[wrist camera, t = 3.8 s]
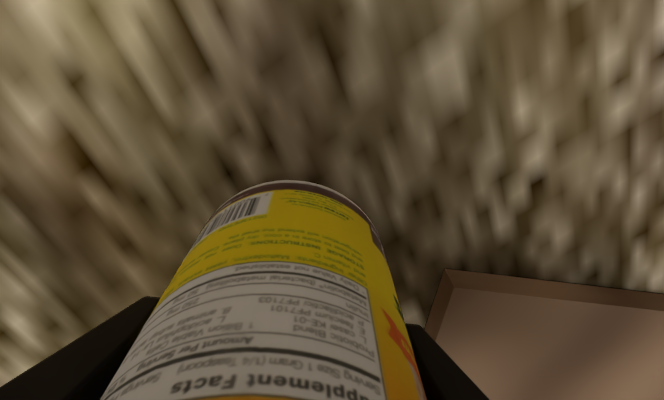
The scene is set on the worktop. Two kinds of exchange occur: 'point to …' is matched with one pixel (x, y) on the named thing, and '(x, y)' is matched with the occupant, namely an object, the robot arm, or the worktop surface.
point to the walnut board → (550, 337)
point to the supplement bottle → (277, 309)
